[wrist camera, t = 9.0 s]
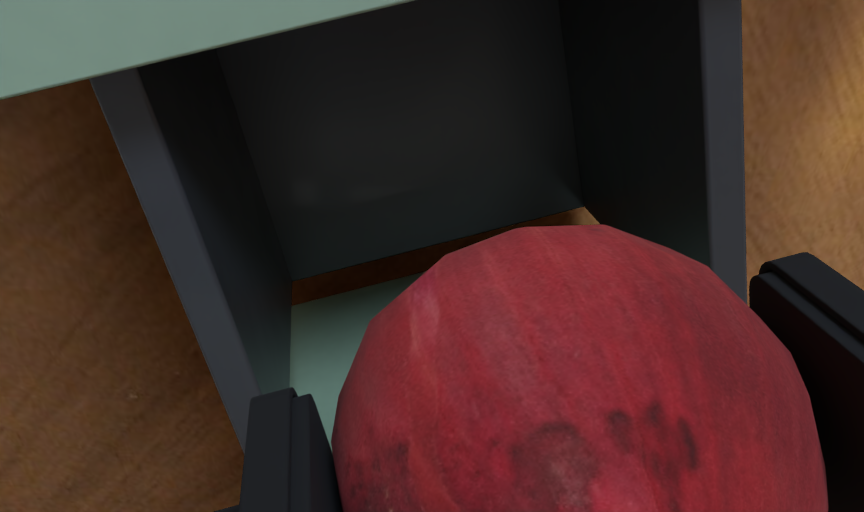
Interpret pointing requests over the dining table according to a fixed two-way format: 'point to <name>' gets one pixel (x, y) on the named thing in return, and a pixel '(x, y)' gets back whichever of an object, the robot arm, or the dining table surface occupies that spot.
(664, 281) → the onion
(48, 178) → the dining table surface
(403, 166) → the drawer
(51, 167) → the dining table surface
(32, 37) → the cabinet
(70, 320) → the dining table surface
